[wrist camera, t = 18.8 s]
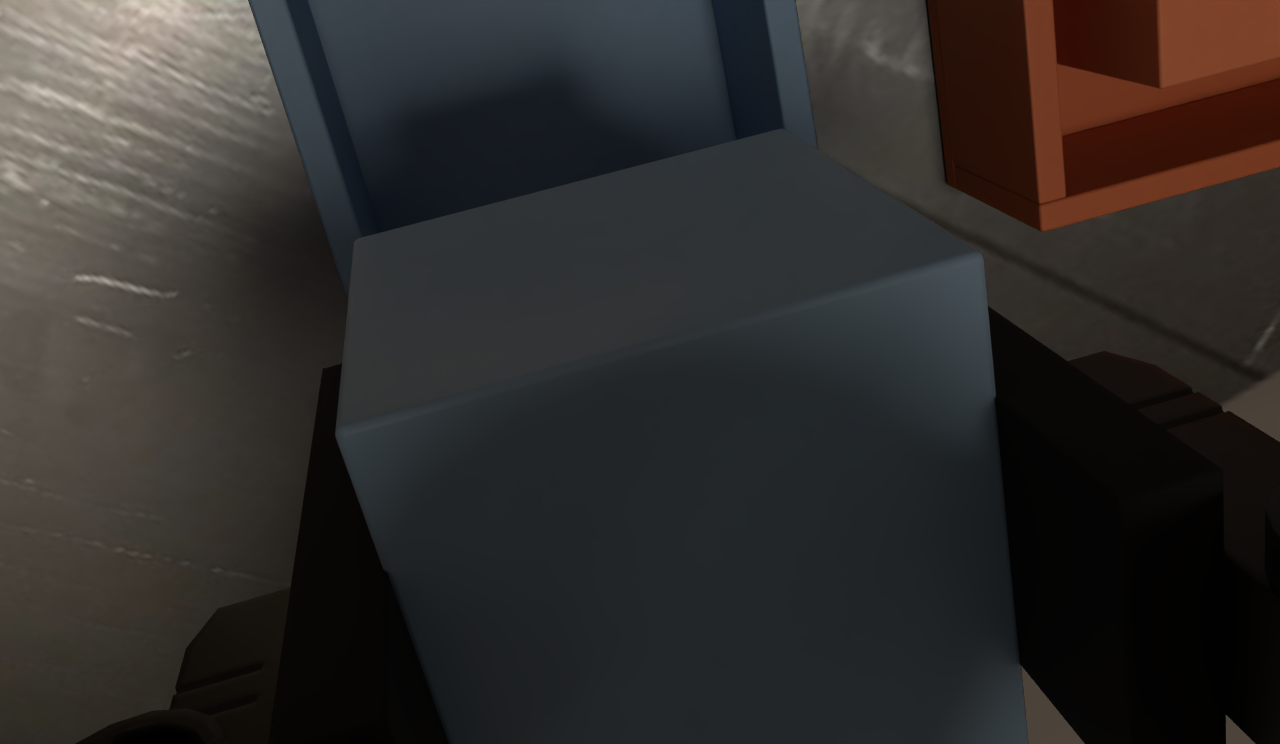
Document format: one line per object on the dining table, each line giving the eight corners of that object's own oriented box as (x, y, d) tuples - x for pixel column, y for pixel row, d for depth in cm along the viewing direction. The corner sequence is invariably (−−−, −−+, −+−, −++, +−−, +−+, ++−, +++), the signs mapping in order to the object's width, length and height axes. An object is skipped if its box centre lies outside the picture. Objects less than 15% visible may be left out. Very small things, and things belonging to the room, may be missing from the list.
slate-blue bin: (773, 231, 28) (840, 288, 23) (387, 335, 27) (385, 413, 23) (689, -253, 23) (752, -285, 19) (230, -149, 23) (194, -160, 19)
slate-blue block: (844, 497, 15) (1032, 753, 11) (472, 606, 15) (507, 920, 10) (785, 125, 13) (986, 250, 9) (352, 237, 13) (332, 431, 8)
